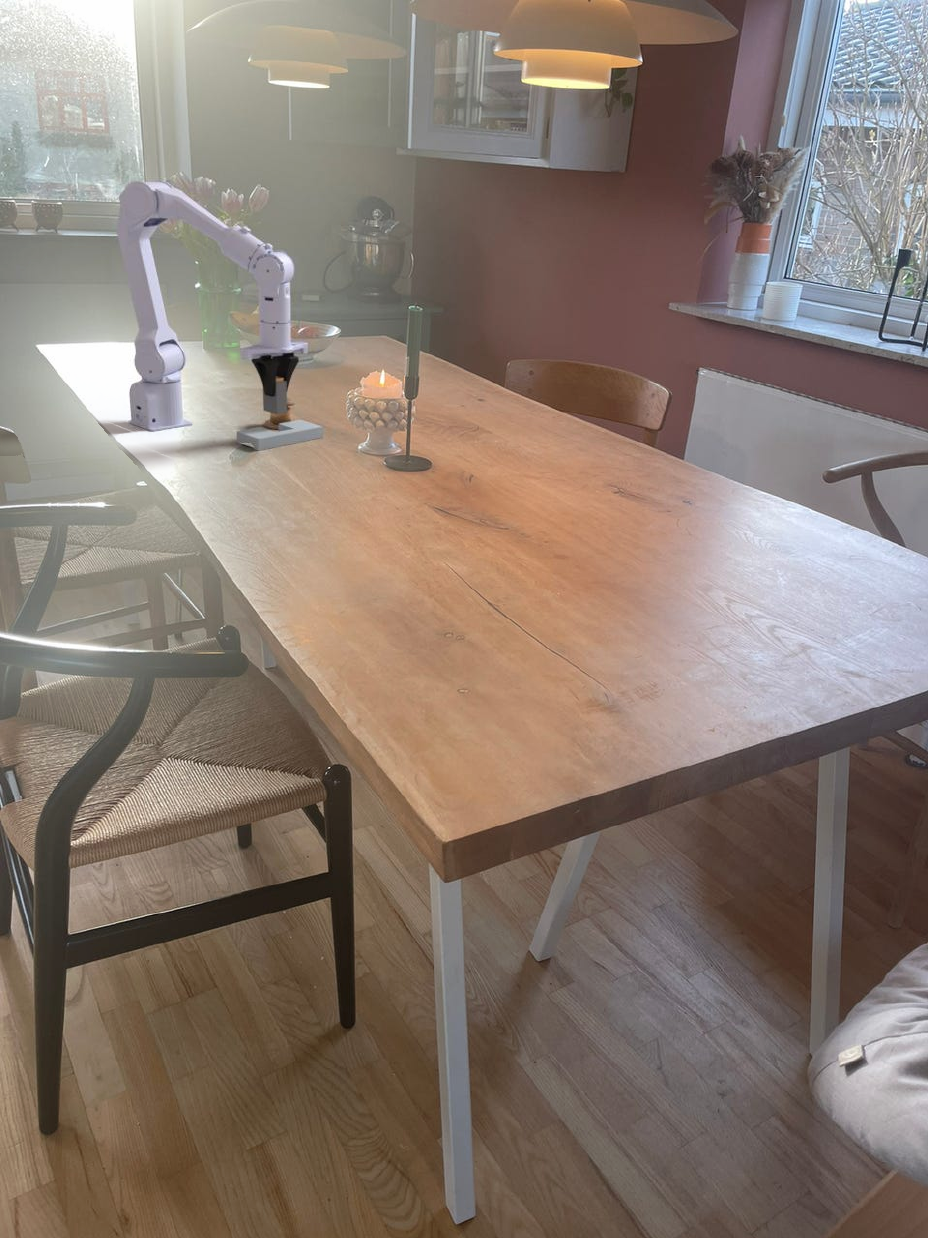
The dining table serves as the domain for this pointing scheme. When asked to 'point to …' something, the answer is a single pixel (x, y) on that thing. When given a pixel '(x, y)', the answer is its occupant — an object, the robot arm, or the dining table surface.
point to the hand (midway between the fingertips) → (275, 394)
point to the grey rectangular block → (276, 398)
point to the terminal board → (280, 435)
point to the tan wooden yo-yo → (280, 416)
